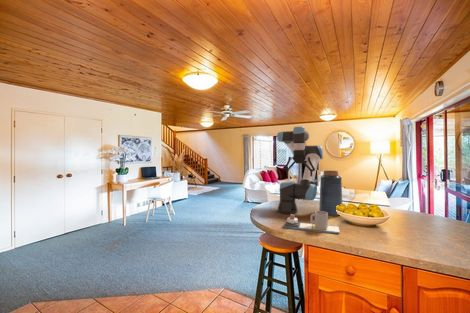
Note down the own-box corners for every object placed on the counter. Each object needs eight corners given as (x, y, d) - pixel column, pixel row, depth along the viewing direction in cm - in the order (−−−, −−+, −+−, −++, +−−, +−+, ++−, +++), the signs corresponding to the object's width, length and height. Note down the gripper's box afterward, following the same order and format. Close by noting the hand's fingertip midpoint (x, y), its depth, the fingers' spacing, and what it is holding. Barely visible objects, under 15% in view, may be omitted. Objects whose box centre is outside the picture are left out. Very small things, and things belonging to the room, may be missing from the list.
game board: (286, 222, 145) (286, 219, 145) (338, 228, 133) (338, 224, 133) (283, 227, 135) (283, 224, 134) (339, 234, 123) (339, 231, 123)
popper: (287, 219, 142) (287, 212, 142) (298, 220, 140) (298, 213, 140) (286, 222, 136) (286, 215, 136) (297, 224, 134) (297, 216, 134)
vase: (321, 215, 160) (321, 172, 159) (317, 209, 176) (317, 170, 175) (345, 216, 156) (345, 172, 155) (339, 210, 172) (339, 170, 171)
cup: (326, 230, 127) (326, 215, 127) (308, 227, 132) (308, 212, 132) (328, 226, 133) (328, 212, 133) (311, 223, 138) (311, 209, 138)
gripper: (279, 149, 149) (279, 181, 150) (318, 149, 141) (319, 182, 142) (281, 149, 156) (281, 179, 157) (318, 149, 148) (318, 180, 149)
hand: (299, 181), depth 149 cm, fingers open, 13 cm apart
